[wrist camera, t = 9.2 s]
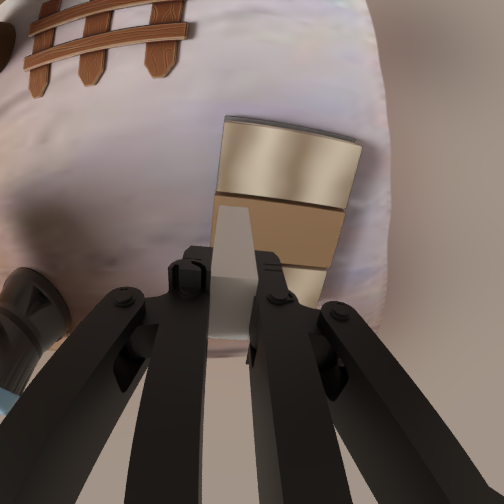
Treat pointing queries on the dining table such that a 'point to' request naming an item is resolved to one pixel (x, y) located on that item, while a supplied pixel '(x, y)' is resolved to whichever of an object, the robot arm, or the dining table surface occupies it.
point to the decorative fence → (103, 39)
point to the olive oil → (6, 42)
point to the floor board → (287, 218)
